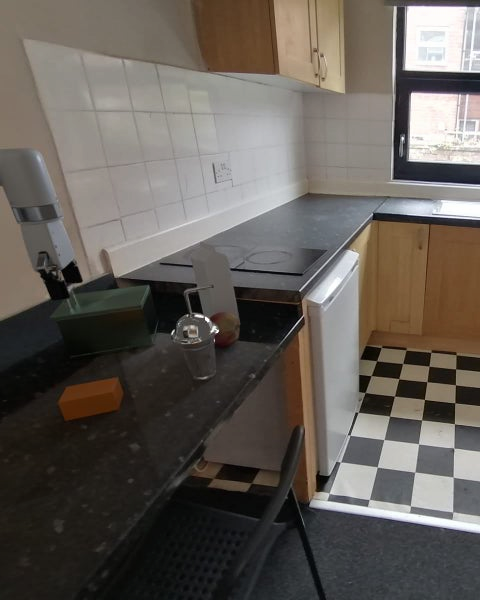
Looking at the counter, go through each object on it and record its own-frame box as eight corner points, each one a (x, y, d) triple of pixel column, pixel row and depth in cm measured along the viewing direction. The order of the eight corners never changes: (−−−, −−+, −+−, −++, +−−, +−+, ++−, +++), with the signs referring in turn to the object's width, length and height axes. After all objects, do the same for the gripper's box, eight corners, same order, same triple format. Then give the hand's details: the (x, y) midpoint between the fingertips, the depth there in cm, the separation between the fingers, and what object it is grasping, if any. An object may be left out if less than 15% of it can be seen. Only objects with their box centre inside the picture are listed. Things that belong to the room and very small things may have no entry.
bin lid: (50, 320, 84) (42, 298, 82) (69, 298, 95) (62, 278, 93) (142, 307, 90) (136, 287, 88) (149, 287, 101) (144, 268, 99)
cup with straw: (205, 360, 88) (185, 275, 80) (237, 368, 85) (221, 281, 77) (172, 381, 81) (147, 290, 73) (207, 391, 78) (184, 297, 70)
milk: (227, 319, 107) (211, 238, 98) (240, 325, 104) (226, 242, 95) (205, 328, 102) (187, 243, 93) (219, 334, 99) (201, 248, 90)
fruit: (226, 356, 90) (219, 325, 86) (200, 350, 92) (192, 319, 89) (250, 340, 96) (245, 310, 93) (225, 334, 99) (219, 305, 96)
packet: (65, 421, 70) (57, 402, 69) (73, 404, 75) (66, 386, 73) (118, 409, 73) (112, 391, 72) (123, 394, 77) (117, 376, 76)
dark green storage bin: (71, 360, 88) (55, 320, 84) (86, 334, 99) (73, 297, 95) (153, 346, 94) (142, 307, 90) (159, 323, 105) (149, 287, 101)
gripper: (32, 207, 87) (60, 280, 95) (-5, 224, 73) (32, 309, 80) (73, 204, 90) (98, 275, 97) (46, 220, 76) (77, 303, 83)
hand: (68, 290), depth 89 cm, fingers open, 9 cm apart
